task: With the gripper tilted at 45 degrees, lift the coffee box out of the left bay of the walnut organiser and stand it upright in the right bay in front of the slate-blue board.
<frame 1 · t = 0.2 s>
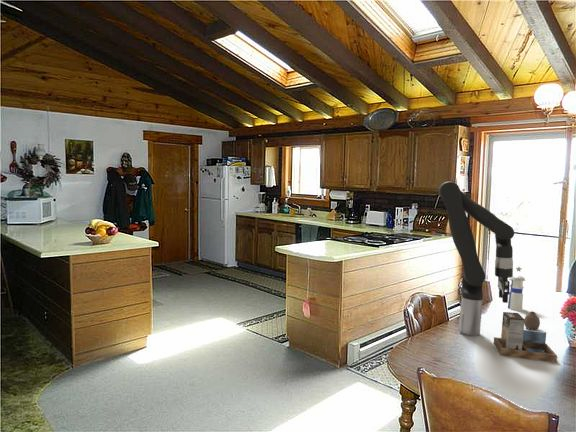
hand: (503, 300, 199), 18 cm above the table, tool pointing down, fingers open, 8 cm apart
vase: (531, 329, 213), on the table
organiser: (523, 352, 181), on the table
white blue toy tower: (514, 308, 249), on the table
coffee box: (510, 351, 183), resting in organiser
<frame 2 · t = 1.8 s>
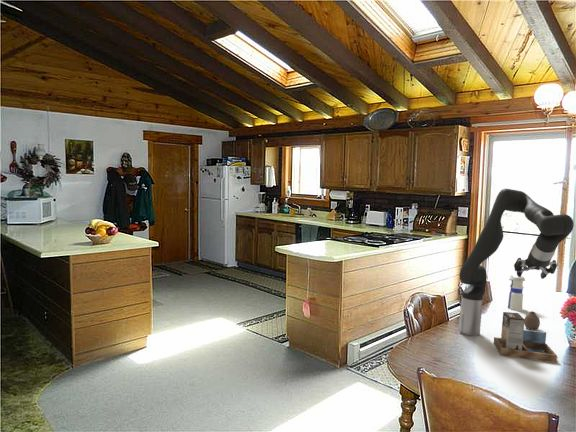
hand: (530, 276, 173), 35 cm above the table, tool tilted 45°, fingers open, 8 cm apart
nothing on the table moved.
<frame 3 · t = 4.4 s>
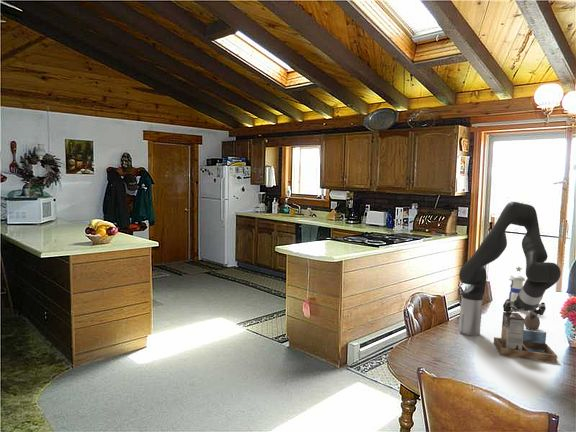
hand: (519, 315, 173), 18 cm above the table, tool tilted 45°, fingers open, 8 cm apart
nothing on the table moved.
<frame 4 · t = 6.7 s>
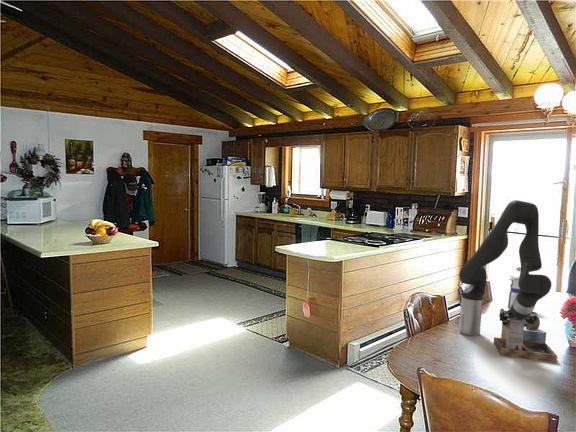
hand: (513, 324, 181), 12 cm above the table, tool tilted 45°, fingers closed on coffee box, 6 cm apart
coffee box: (510, 351, 183), resting in organiser, touching gripper
everything else where it was.
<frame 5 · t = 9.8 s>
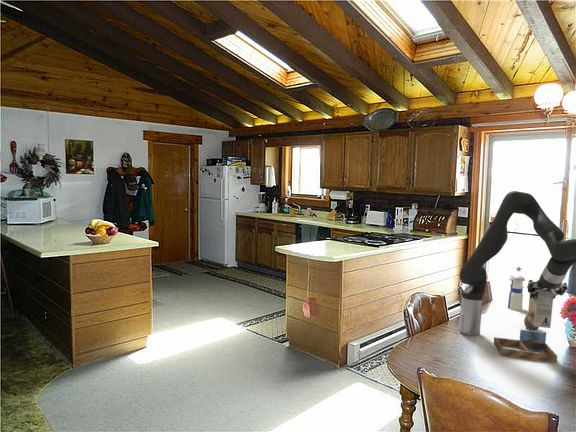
hand: (541, 297, 177), 25 cm above the table, tool tilted 45°, fingers closed on coffee box, 6 cm apart
coffee box: (538, 324, 179), point 13 cm above the table, touching gripper
everything else where it was.
when the fingers open (13 cm above the table, at t = 12.7 s): coffee box stays where it is, resting on organiser.
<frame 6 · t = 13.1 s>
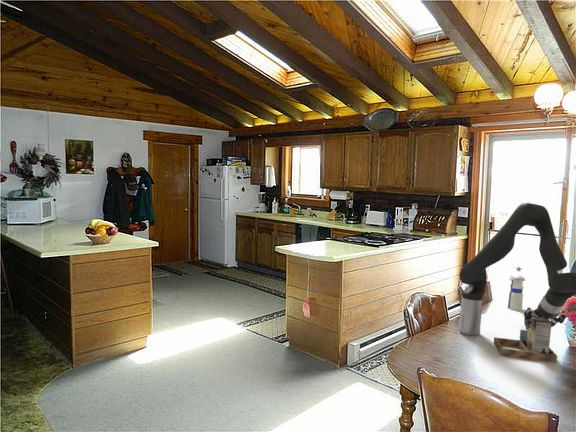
hand: (539, 323, 178), 14 cm above the table, tool tilted 45°, fingers open, 8 cm apart
coffee box: (536, 354, 180), resting on organiser
everything else where it was.
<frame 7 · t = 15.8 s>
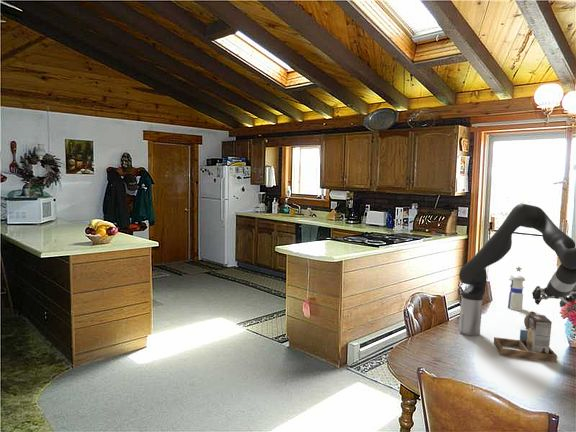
hand: (548, 303, 168), 25 cm above the table, tool tilted 45°, fingers open, 8 cm apart
nothing on the table moved.
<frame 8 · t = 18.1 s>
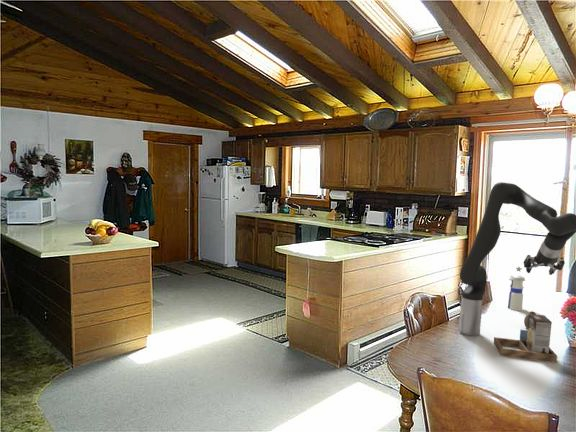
hand: (538, 272, 183), 35 cm above the table, tool tilted 45°, fingers open, 8 cm apart
nothing on the table moved.
at the end: coffee box 0.4 cm from the target spot, resting on organiser; coffee box tilted 0°; the gripper is holding nothing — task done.
